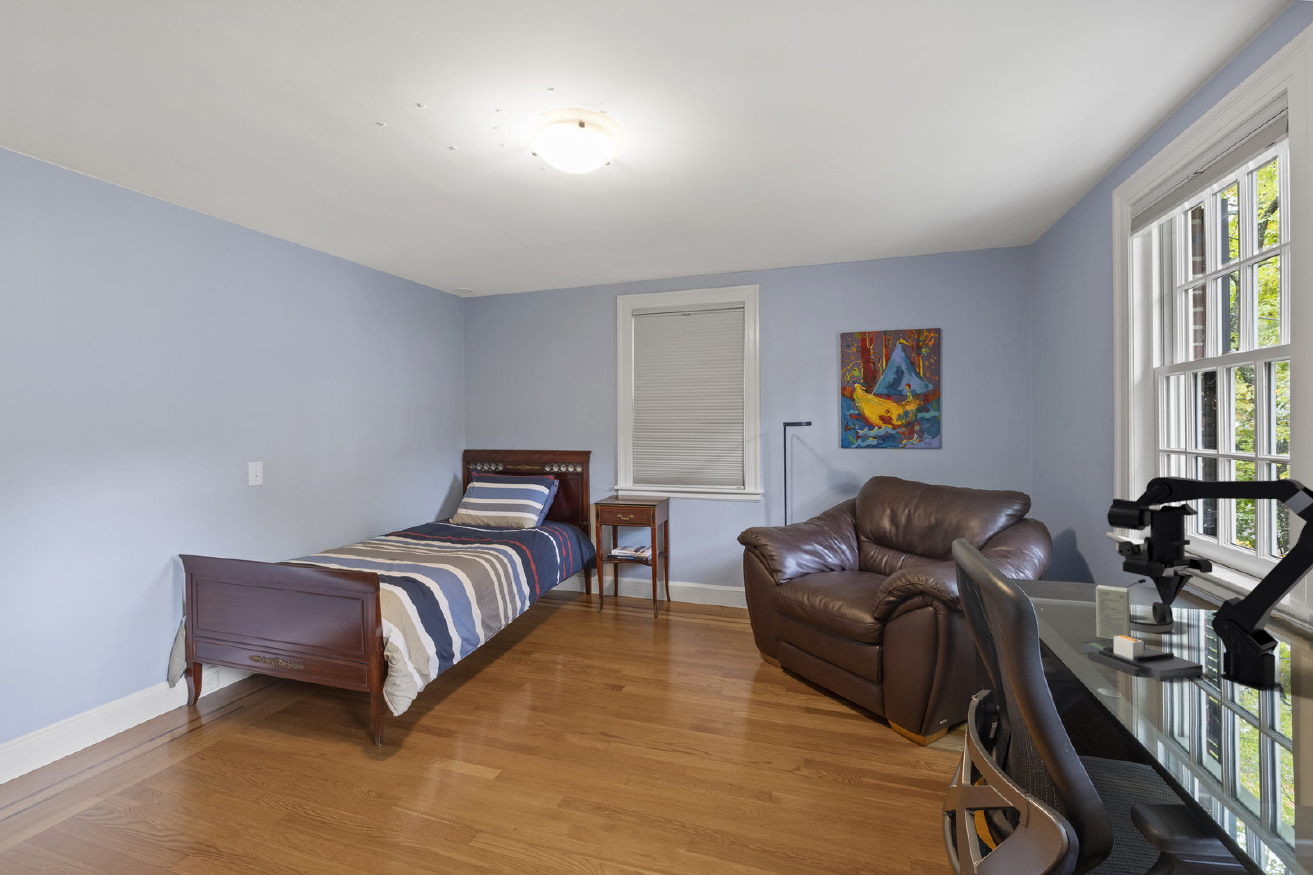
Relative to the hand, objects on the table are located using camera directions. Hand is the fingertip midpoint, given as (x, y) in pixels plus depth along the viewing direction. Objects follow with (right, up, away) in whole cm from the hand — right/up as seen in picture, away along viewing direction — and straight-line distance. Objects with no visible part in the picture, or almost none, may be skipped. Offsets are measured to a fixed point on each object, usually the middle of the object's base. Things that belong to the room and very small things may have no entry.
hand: (1167, 605), depth 129 cm
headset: (+16, -13, +26) cm, 33 cm away
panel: (-8, -12, -2) cm, 14 cm away
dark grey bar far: (-8, -12, +8) cm, 16 cm away
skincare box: (-1, -12, +14) cm, 19 cm away
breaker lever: (-11, -10, -3) cm, 15 cm away
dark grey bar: (-15, -12, -4) cm, 20 cm away
